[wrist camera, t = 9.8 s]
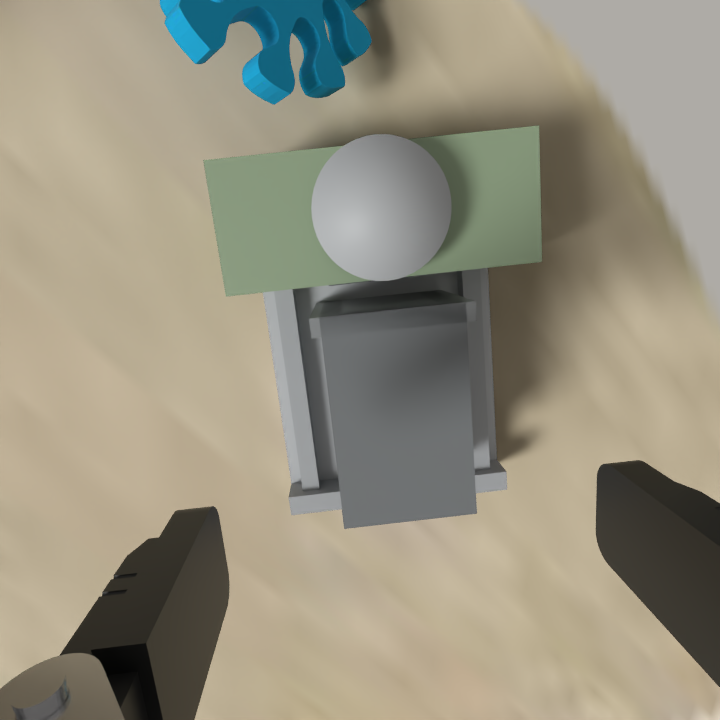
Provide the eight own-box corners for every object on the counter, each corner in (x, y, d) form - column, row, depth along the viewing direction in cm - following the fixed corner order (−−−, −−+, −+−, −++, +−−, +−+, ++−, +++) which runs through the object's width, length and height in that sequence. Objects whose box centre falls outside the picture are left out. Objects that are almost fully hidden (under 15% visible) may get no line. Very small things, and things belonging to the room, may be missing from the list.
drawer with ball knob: (285, 490, 22) (265, 577, 16) (238, 185, 19) (193, 153, 13) (501, 465, 22) (560, 541, 16) (487, 159, 19) (553, 116, 13)
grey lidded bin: (316, 302, 19) (309, 318, 14) (440, 289, 19) (475, 301, 14) (336, 464, 20) (335, 530, 16) (451, 451, 21) (485, 512, 16)
